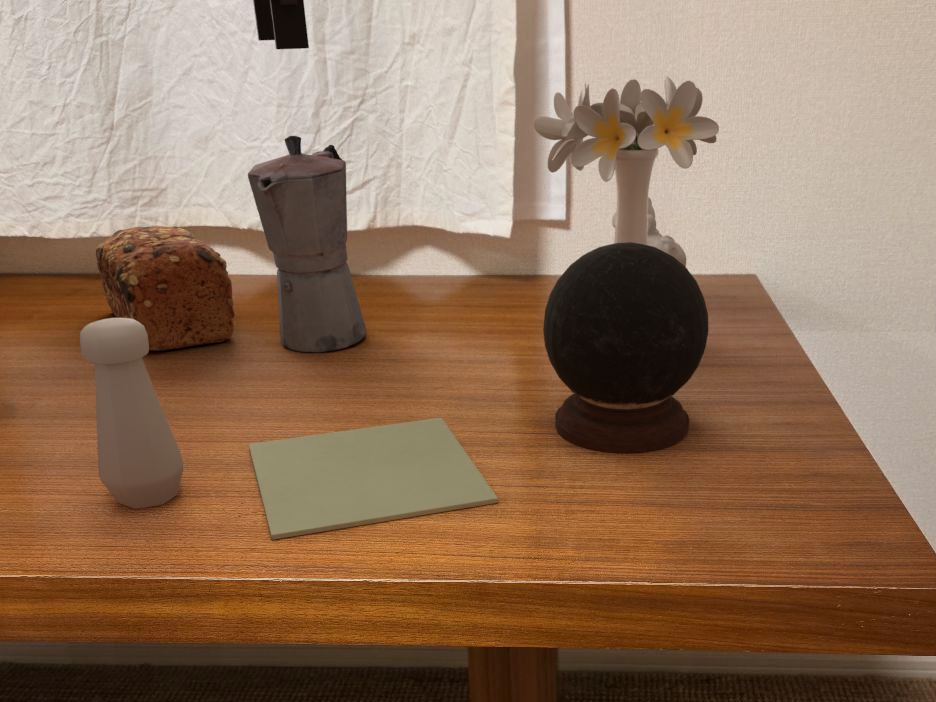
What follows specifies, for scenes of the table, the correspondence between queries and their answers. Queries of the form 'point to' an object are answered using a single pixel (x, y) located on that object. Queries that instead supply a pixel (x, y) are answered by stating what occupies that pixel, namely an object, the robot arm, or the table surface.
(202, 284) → the bread
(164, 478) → the salt shaker
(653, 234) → the dog figurine
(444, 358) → the table surface
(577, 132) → the flower vase
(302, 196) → the moka pot
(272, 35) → the robot arm
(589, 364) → the black ball on stand
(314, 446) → the centre mat
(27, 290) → the table surface
